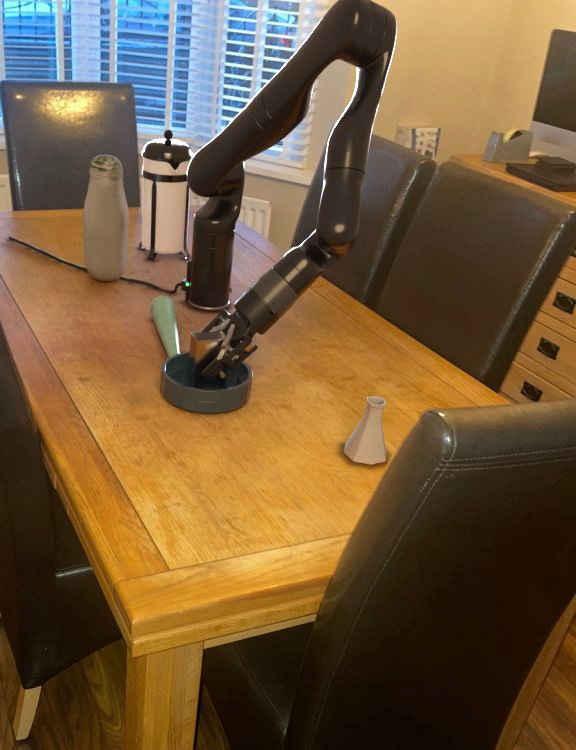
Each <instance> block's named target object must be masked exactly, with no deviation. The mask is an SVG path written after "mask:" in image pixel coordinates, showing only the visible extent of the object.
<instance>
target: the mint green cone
mask: <svg viewBox="0 0 576 750" xmlns="http://www.w3.org/2000/svg"><path fill="white" fill-rule="evenodd" d="M149 311H150V314H151V317H152V320H153V322H154V325H155V327H156V330H157V332H158V335H159V338H160V340H161V342H162V345H163V347H164V350H165V352H166V354H167V358H170V357H172V356H174V355H176V354H180V353H181V348H180V337H179V326H178V317H177V311H176V304H175V302H174V300H173V299H172V298H171V297H169V296H167V295H158V296H157V297H155V298H154V299H153V300H152V301H151V303H150V306H149Z"/></svg>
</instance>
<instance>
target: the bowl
mask: <svg viewBox="0 0 576 750" xmlns="http://www.w3.org/2000/svg"><path fill="white" fill-rule="evenodd" d="M189 354H190V350H188V351H183V352H180V354H176V355H174V356H172V357H170V358H169V357H167V358H166V359H165V360H164V362H162V364H161V370H160V371H161V372H160V393H161V395H162V397H163V399H165V400H166V401H167V402H169V403H170V404H171V405H173V406H176V407H177V408H180V409H182V410H185V411H188V412H192V413H197V414H209V415H212V414H222V413H227V412H230V411H233V410H236V409H239V408H241V407H243V406H244V405H245V404H247V403H248V401H249V400H250V398H251V393H252V386H253V376H254V375H253V369H252V368H251V367H250V366H249V365H250V364H248V363H247V362H246V361H245V360H244V361H243V362H242V363H241V364H240V365H239V366H237V367H236V368H235V369H234V370H232V369H231V368H229V367H228V368H227V369H226V381H225V389H217V390H208V389H197V388H193V387H188V386H186V384H187V383H188V372H189ZM237 358H238V357H235V358H234V359H233V361H235V360H236V359H237Z"/></svg>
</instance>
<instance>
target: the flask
mask: <svg viewBox="0 0 576 750" xmlns="http://www.w3.org/2000/svg"><path fill="white" fill-rule="evenodd" d="M365 404H366V407H365V411H364V413H363V416H362V418H361V419H360V421H359V423H358V424H357V426H356V427H355V429H354V430H353V432H352V433H351V435H350V436H349V437H348V439H347V440H346V441H345V444H344V449H343V453H344V454H345V455H346V456H347V457H348V458H349V459H350V460H351V461H352V462H355V463H359V464H360V463H361V464H366V465H375V464H380V463H385V462H387V461H386V460H387V448H386V442H385V437H384V430H383V423H382V422H383V421H382V420H383V411H384V408H386V405H387V400H386V399H385V398H384V397H382V396H375V395H370V396H367V397H366V403H365Z"/></svg>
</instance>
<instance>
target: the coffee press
mask: <svg viewBox="0 0 576 750" xmlns="http://www.w3.org/2000/svg"><path fill="white" fill-rule="evenodd" d="M173 136H174V134H173V131H172V130H171V129H166V130H165V131H164V132H163V137H164V138H161V139H160V138H159V139H153V140H151V141H148V142H147V143H146V144H145V145H144V147H143V149H142V151H141V157H142V167H141V176H142V196H141V197H142V198H141V200H142V204H141V241H140V243H138V248H139V249H140V250H144V249H145V250H146V251H148V254H147V260H148V261H155V259H156V257H157V255H175V254H179V255H180V256H181V258H183V260H189V259H190V258H191V254H190V251H189V250H188V237H189V235H188V233H189V220H190V218H189V217H190V200H191V199H190V197H191V189H190V188H189V185H188V182H187V169H188V166H189V163H190V161H191V159H192V157H193V156H194V155H195V154H194V153H193V150H192V148H191V147H190V145H188V144H187V143H186V142H183V141H181V140H178V139H173Z"/></svg>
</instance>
